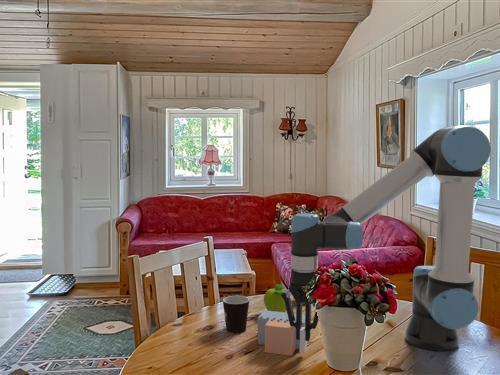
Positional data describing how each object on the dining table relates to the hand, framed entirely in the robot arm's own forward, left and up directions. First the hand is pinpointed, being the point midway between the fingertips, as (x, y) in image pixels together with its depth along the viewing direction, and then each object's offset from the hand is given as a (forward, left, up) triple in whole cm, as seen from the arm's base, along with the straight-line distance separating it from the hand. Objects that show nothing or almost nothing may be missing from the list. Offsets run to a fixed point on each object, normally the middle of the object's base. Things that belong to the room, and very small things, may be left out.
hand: (303, 350), depth 138 cm
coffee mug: (+25, -15, -2) cm, 29 cm away
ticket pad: (+8, -8, -2) cm, 11 cm away
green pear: (+10, -48, -2) cm, 49 cm away
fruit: (+16, -32, -2) cm, 35 cm away
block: (+7, -2, -2) cm, 7 cm away
